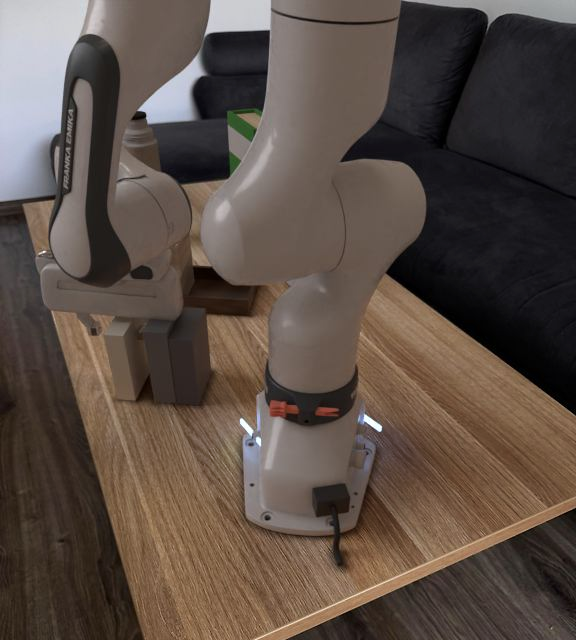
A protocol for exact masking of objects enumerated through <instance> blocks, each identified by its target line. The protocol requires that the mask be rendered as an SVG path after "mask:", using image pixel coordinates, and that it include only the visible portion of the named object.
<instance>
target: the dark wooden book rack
mask: <svg viewBox="0 0 576 640" xmlns="http://www.w3.org/2000/svg"><path fill="white" fill-rule="evenodd" d="M190 232H191V231H190ZM190 232H189V234H188V236H187V237H186V238H185V239H183V240H182V241H180V242H179V243H178V244H176V245H175V246H173V247H171V248H170V250H171V252H172V259H171V262H170V265H171V266H173V267H174V269H175V270H176V271H177V273H178V276H179V280H180V283H181V288H182V294H183V303H184V304H183V307H190V308H206V315H219V316H237V317H250V313H251V311H252V308H253V304H254V301H255V298H256V295H257V291H258V287H259V285H232V284H230V283H229V282H227V281H226V280H224V279H223V278H222V277H221V276H220V275H219V274H218V273H217V272H216V271H215V270H214V269H213V267H212V266H211V265H197V264H193V253H192V243H191V233H190Z"/></svg>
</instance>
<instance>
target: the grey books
mask: <svg viewBox="0 0 576 640" xmlns="http://www.w3.org/2000/svg"><path fill="white" fill-rule="evenodd" d="M143 336H144V342H145V348H146V354H147V360H148V366H149V372H150V373H149V377H150V383H151V390H152V395H153V401H154V403H161V404H162V403H163V404H177V405H188V406H189V405H190V406H200V405H201V402H202V399H203V396H204V393H205V391H206V387H207V385H208V382H209V379H210V376H211V373H212V361H211V352H210V341H209V340H210V339H209V329H208V318H207V314H206V308H190V307H183V309H182V312H181V314H180V316H179V317H178V318H177V319H176V320H175V321H169V320H155V319H149V321H148V323H147V325H146V326H145V328H144V330H143Z"/></svg>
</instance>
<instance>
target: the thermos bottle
mask: <svg viewBox="0 0 576 640" xmlns="http://www.w3.org/2000/svg"><path fill="white" fill-rule="evenodd" d="M154 135H155V133H154V130H153V128H152V127H150V126H149V125H148V119H147V112H146V111H142V110H138V111H137V112H136V113H135V114H134V116H133V117H132V119H131V121H130V122H129V124H128V126H127V128H126V130H125V133H124V136H123V139H122V145H123V146H124V148H125V149H126V150H127V151H128V152H129V153H130V154H131V155H132V156H133V157H135V158H136V159H137V160H139V161H140V162H142V163H143V164H145V165H146V166H148V167H150V168H152V169H153V170H156V171H161V172H162V167H161V160H160V152H159V142H158V139H157V138H155V137H154Z"/></svg>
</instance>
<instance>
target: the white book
mask: <svg viewBox="0 0 576 640" xmlns="http://www.w3.org/2000/svg"><path fill="white" fill-rule="evenodd" d="M145 324H146V323H142V318H131V317H119V316H113V319H112V320H111V322H109V325H108V326H107V328H106V329H105V331H104V333H103V334H102V335H103V340H104V345H105V350H106V354H107V358H108V364H109V367H110V368H109V369H110V372H111V377H112V382H113V386H114V391H115V395H116V400H121V401H135V402H136V401H137V399H138V397H139V395H140V393H141V391H142V389H143V387H144V385H145V383H146V381H147V378H148V376H150V372H149V366H148V360H147V354H146V348H145V342H144V340H138V338H137V337H138V336H137V330H138V329H139V326H140V325H145Z"/></svg>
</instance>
